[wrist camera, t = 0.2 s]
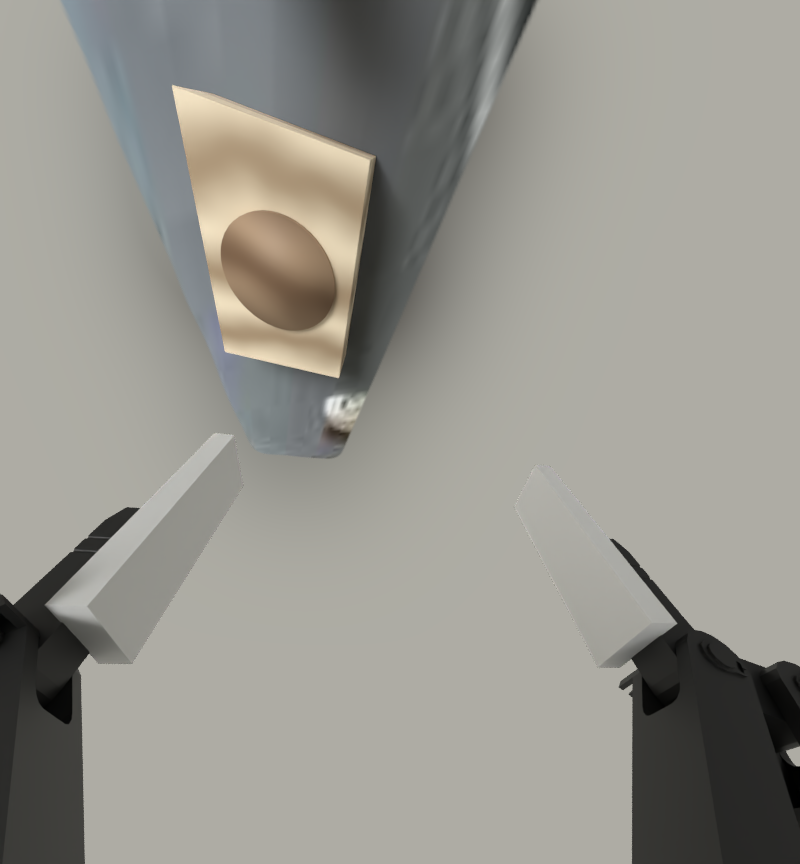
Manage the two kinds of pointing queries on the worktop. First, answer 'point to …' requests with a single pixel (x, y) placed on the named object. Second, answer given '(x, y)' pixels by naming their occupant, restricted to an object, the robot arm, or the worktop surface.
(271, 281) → the plinth
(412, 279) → the worktop surface
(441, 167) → the worktop surface
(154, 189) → the worktop surface
